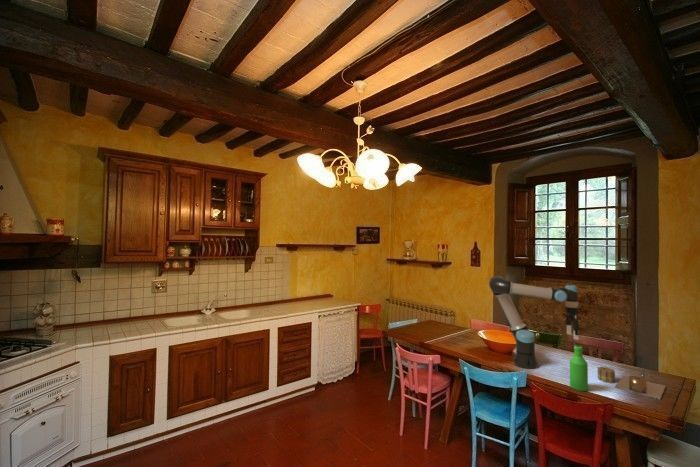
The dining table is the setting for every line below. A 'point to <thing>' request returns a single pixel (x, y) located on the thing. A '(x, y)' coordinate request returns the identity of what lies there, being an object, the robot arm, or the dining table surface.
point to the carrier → (641, 386)
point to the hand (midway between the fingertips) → (572, 336)
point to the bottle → (578, 371)
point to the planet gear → (606, 374)
